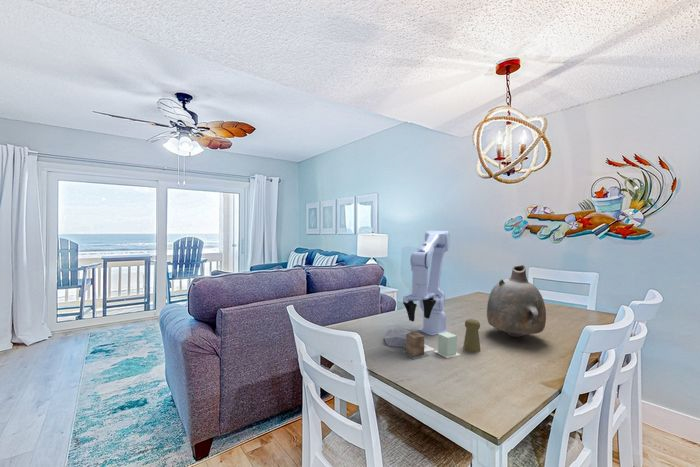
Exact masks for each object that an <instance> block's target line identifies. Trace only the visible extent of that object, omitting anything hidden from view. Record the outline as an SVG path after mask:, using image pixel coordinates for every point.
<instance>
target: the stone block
mask: <svg viewBox="0 0 700 467" xmlns="http://www.w3.org/2000/svg"><path fill="white" fill-rule="evenodd" d="M408 333H411V331H410V330H406V329H402V328H401V329H399V328H394V329H389V330H387V331H386V333H385V335H384V342H385V344H386V346H389V347H397V348H398V347H400V348H401V347H402V348H406V334H408Z"/></svg>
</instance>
